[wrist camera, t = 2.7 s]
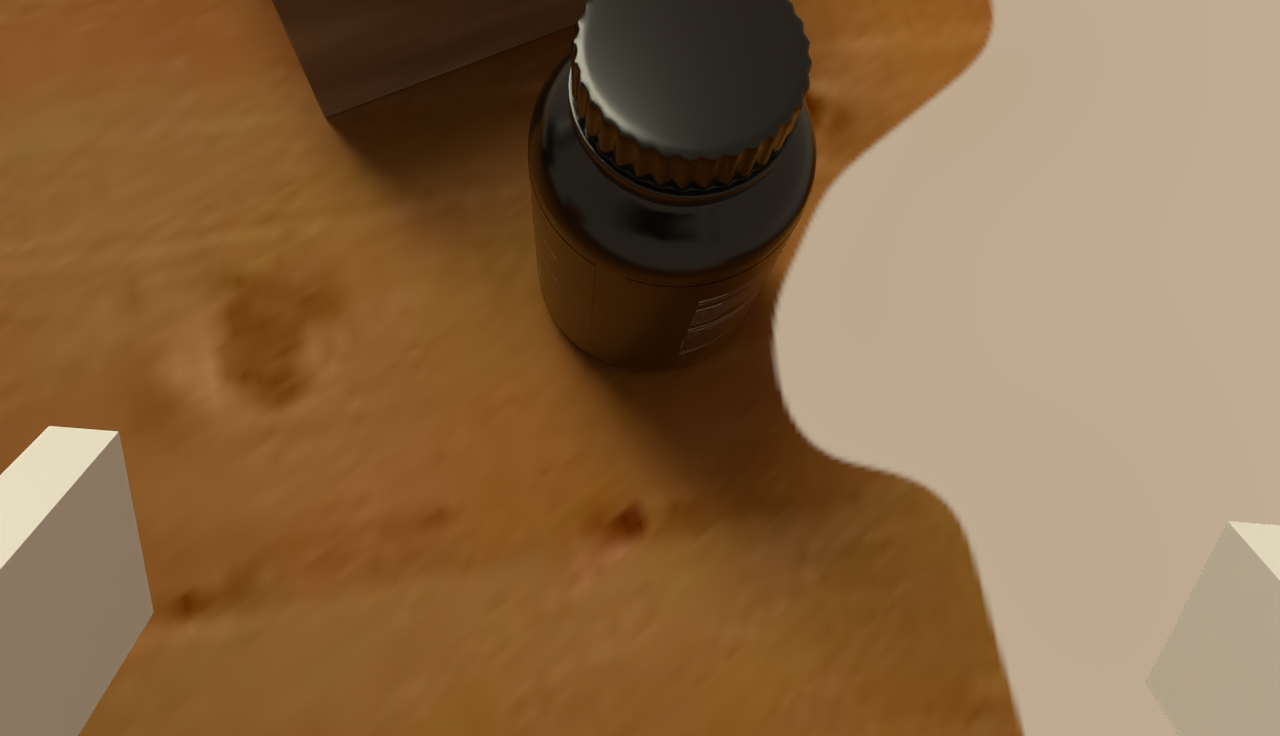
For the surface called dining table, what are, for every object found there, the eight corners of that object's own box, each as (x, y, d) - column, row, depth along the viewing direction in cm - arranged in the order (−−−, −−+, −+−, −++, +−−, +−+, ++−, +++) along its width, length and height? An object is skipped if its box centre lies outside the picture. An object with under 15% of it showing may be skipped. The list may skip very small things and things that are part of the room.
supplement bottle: (737, 170, 31) (844, -98, 20) (764, 369, 30) (898, 204, 18) (528, 180, 31) (511, -93, 19) (542, 385, 29) (534, 223, 17)
